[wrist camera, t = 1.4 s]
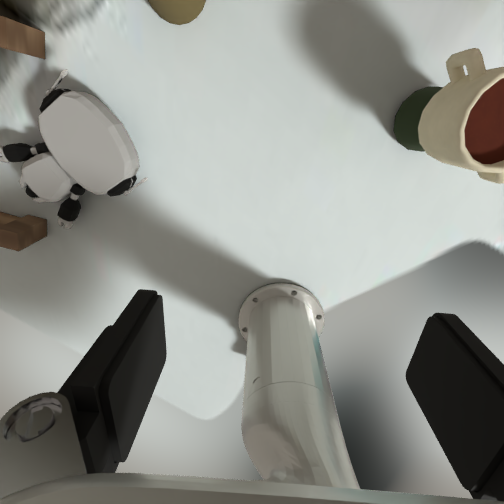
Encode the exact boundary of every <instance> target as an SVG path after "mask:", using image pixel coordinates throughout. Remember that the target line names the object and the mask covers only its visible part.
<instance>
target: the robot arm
mask: <svg viewBox="0 0 504 504" xmlns="http://www.w3.org/2000/svg"><path fill="white" fill-rule="evenodd" d="M293 290H295V291H293ZM324 322H325V318H324V312H323V309H322V306H321V304H320V302H319V301H318V300H317V298H316V297H315V296H314V295H313V294H312V293H310V292H309V291H308V290H306V289H304V288H302V287H300V286H297V285H293V284H287V283H276V284H271V285H267V286H264V287H261V288H259V289H257V290H256V291H254V292H253V293H252V294H250V295H249V296H248V297H247V298H246V300H245V301H244V302H243V304H242V306H241V308H240V313H239V320H238V323H239V329H240V332H241V334H242V336H243V337H244V339H245V340H246V341H247V353H246V367H245V380H244V393H243V407H242V423H241V426H242V436H243V441H244V444H245V447H246V450H247V452H248V454H249V457H250V459H251V460H252V462H253V464H254V465H255V467H256V468H257V470H258V472H259V473H260V475H261V476H262V478H263V479H264V480H251V481H247V480H234V479H222V478H208V477H195V476H178V475H159V474H141V473H115V471H116V469H117V467H118V464H119V462H125V460H126V459H127V457H128V454H129V452H130V449H131V447H132V444H133V442H134V439H135V437H136V434H137V432H138V429H139V427H140V424H141V422H142V419H143V417H144V414H145V412H146V409H147V407H148V404H149V402H150V399H151V397H152V394H153V392H154V389H155V387H156V384H157V382H158V379H159V377H160V374H161V372H162V369H163V367H164V364H165V361H166V339H165V326H164V313H163V299H162V296H161V295H157V291H154V290H141V289H140V290H138V291H137V292H136V294H135V295H134V297H133V298H132V299H131V301H130V302H129V304H128V305H127V306H126V308H125V309H124V311H123V312H122V313H121V315H120V316H119V318H118V319H117V320H116V322H115V323H114V325H113V326H111V325H110V326H108V327H106V328H105V329H104V331H103V332H102V333H101V335H100V336H99V337H98V339H97V340H96V341H95V343H94V344H93V345H92V347H91V348H90V349H89V351H88V352H87V353H86V355H85V356H84V357H83V359H82V360H81V362H80V363H79V364H78V366H77V367H76V368H75V370H74V371H73V372H72V374H71V375H70V376H69V378H68V379H67V380H66V382H65V383H64V384H63V386H62V387H61V389H60V390H59V391H58V392H57V393H55V392H47V393H40V394H37V395H34V396H31V397H29V398H27V399H25V400H23V401H21V402H19V403H18V404H17V405H15V406H14V407H12V408H11V409H10V410H9V411H8V412H7V413H6V414H5V415H4V416H3V417H2V418H1V420H0V504H504V364H502V362H501V361H500V360H499V359H498V358H497V357H496V356H495V355H494V354H493V353H492V352H491V351H490V350H489V349H488V348H487V347H486V346H485V345H484V344H483V343H482V342H481V340H480V339H479V338H478V337H477V336H476V335H475V334H474V333H473V332H472V331H471V330H470V329H469V328H468V327H467V326H466V325H465V324H464V323H463V322H462V321H461V320H460V319H459V318H458V316H456V315H454V314H446V313H435V314H434V315H433V316H432V317H429V318H428V319H427V322H426V324H425V327H424V329H423V331H422V334H421V336H420V339H419V341H418V344H417V346H416V349H415V352H414V354H413V356H412V359H411V361H410V364H409V366H408V369H407V371H406V380H407V383H408V385H409V387H410V389H411V391H412V393H413V395H414V396H415V398H416V400H417V402H418V404H419V406H420V408H421V410H422V412H423V413H424V415H425V417H426V419H427V421H428V423H429V425H430V426H431V428H432V430H433V432H434V434H435V436H436V438H437V439H438V441H439V443H440V445H441V447H442V449H443V451H444V453H445V455H446V456H447V458H448V460H449V462H450V464H451V466H452V467H453V470H454V471H455V473H456V475H457V477H458V479H459V481H460V483H461V484H462V486H463V487H464V488H465V489H467V490H469V492H470V494H471V495H472V497H473V499H467V498H456V497H445V496H433V495H422V494H411V493H398V492H386V491H374V490H362V489H360V487H359V485H358V482H357V479H356V477H355V474H354V471H353V468H352V465H351V462H350V459H349V455H348V452H347V449H346V445H345V442H344V438H343V434H342V431H341V427H340V423H339V419H338V415H337V411H336V407H335V403H334V399H333V395H332V390H331V386H330V382H329V378H328V374H327V370H326V366H325V362H324V358H323V354H322V350H321V346H320V342H319V337H320V335H321V334H322V331H323V328H324Z"/></svg>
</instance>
